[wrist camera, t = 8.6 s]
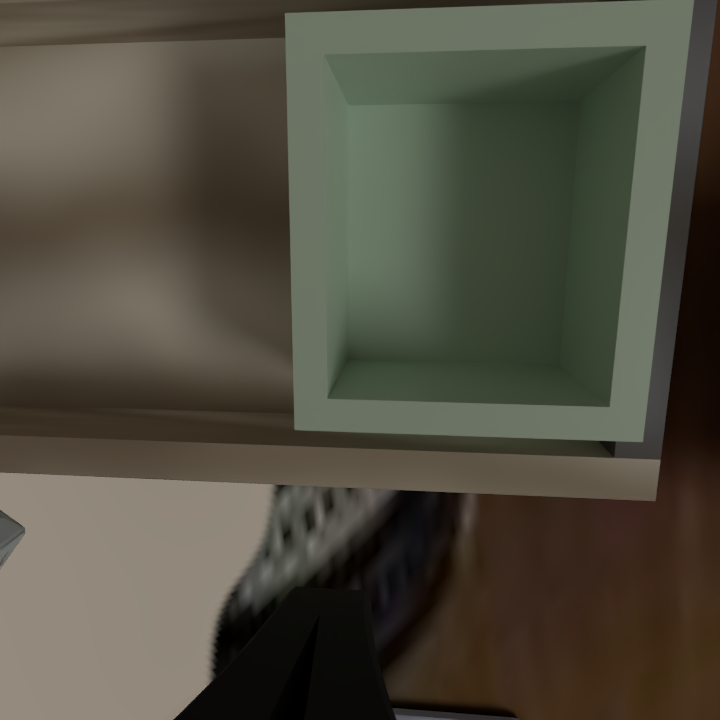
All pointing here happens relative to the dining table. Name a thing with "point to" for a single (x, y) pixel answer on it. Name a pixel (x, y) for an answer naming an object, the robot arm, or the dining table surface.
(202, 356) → the bay
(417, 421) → the box
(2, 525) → the supplement box
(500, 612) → the dining table surface
